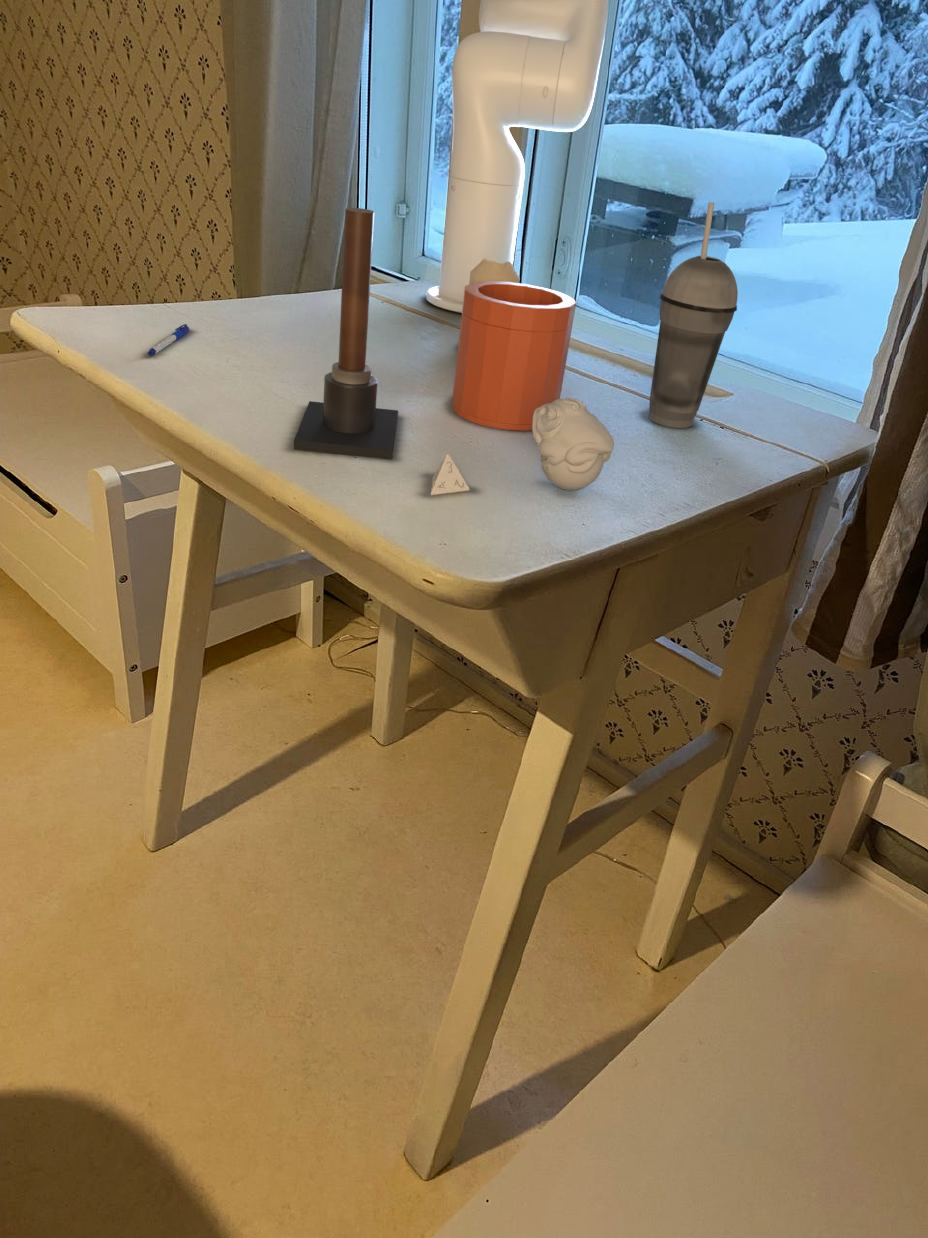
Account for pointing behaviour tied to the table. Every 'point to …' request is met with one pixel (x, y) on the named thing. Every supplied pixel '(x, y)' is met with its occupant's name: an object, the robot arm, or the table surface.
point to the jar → (510, 352)
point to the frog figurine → (570, 443)
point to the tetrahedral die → (448, 478)
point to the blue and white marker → (169, 339)
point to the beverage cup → (690, 334)
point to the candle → (493, 272)
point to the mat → (347, 435)
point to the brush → (353, 335)
